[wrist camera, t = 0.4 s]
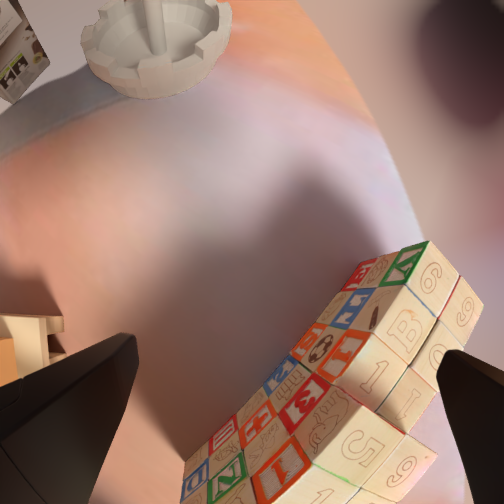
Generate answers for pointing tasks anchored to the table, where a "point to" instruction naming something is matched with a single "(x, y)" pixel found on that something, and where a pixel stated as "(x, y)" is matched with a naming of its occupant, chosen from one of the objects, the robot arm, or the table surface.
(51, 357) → the pallet
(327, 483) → the stack of blocks
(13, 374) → the tan cardboard cube
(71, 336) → the table surface
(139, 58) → the flag stand
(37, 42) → the coffee box
